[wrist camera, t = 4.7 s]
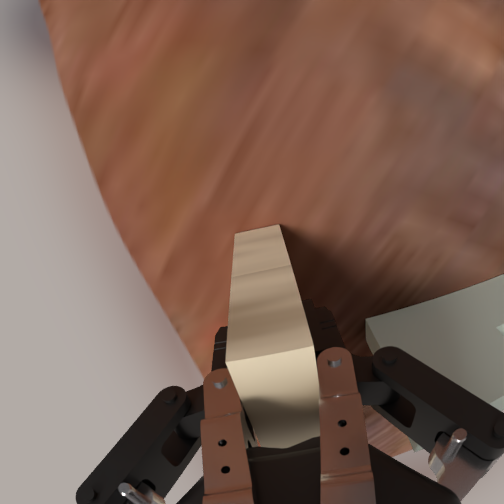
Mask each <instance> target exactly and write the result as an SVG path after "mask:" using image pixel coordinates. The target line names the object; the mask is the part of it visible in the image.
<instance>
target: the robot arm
mask: <svg viewBox="0 0 504 504" xmlns="http://www.w3.org/2000/svg"><path fill="white" fill-rule="evenodd" d="M302 305H303V308H304V312H305V315H306V319H307V323H308V326H309V330H310V334H311V337H312V341H313V345H314V351H315V358H316V366H317V373H318V381H319V419H320V436H318V437H313V438H310V439H308V440H306V441H303V442H301V443H298V444H296V445H293V446H291V447H288V448H269V447H258V444H257V439H256V434H255V431H254V429H253V427H252V425H251V422H250V420H249V418H248V415H247V413H246V411H245V408H244V406H243V404H242V401H241V399H240V397H239V394H238V392H237V389H236V387H235V385H234V382H233V380H232V377H231V375H230V372H229V370H228V368H227V365H226V363H225V360H226V346H227V331H228V326H226V327H220V329H219V331H218V332H217V334H216V335H215V344H214V352H213V361H212V370H211V373H209V374H208V375H207V376H206V377H205V379H204V382H203V385H201V386H200V387H197V388H195V389H192V390H189V391H187V392H185V390H184V389H183V388H181V387H178V386H170V387H167V388H165V389H163V390H162V391H160V392H159V393H158V395H157V396H156V397H155V398H154V399H153V401H152V402H151V403H150V404H149V405H148V407H147V408H146V409H145V410H144V411H143V413H142V414H141V415H140V416H139V417H138V419H137V420H136V421H135V422H134V423H133V425H132V426H131V427H130V428H129V429H128V431H127V432H126V433H125V434H124V435H123V437H122V438H121V439H120V440H119V441H118V442H117V444H116V445H115V446H114V447H113V448H112V450H111V451H110V452H109V453H108V454H107V455H106V457H105V458H104V459H103V460H102V461H101V462H100V464H99V465H98V466H97V467H96V468H95V470H94V471H93V472H92V473H91V474H90V475H89V476H88V478H87V479H86V480H85V481H84V482H83V483H82V485H81V486H80V487H79V488H78V490H77V492H76V502H77V504H165V501H164V498H165V496H166V495H167V493H168V492H169V491H170V490H171V488H172V486H173V485H174V484H175V483H176V481H177V480H178V478H179V477H180V475H181V474H182V473H183V471H184V470H185V468H186V467H187V465H188V464H189V463H190V461H191V460H192V458H193V457H194V455H195V454H196V452H197V451H198V449H199V448H200V446H201V445H202V460H203V477H201V478H200V480H199V481H198V482H197V483H196V484H195V485H194V486H193V487H192V488H191V489H190V490H189V491H188V492H187V493H186V494H185V495H184V496H183V497H182V498H181V499H180V500H179V501H178V502H177V503H176V504H461V502H460V501H461V500H462V499H463V498H464V497H465V496H466V495H467V493H468V492H469V491H470V490H471V489H472V487H473V486H474V485H475V484H476V483H477V481H478V480H479V479H480V478H482V477H483V476H484V475H485V474H486V473H487V472H488V471H489V470H490V468H491V467H492V466H493V465H494V464H495V463H496V462H497V460H498V459H499V458H500V457H501V456H502V454H503V453H504V413H503V412H501V411H500V410H498V409H497V408H495V407H493V406H492V405H490V404H488V403H487V402H485V401H484V400H482V399H480V398H479V397H477V396H476V395H474V394H472V393H471V392H469V391H468V390H466V389H464V388H463V387H461V386H459V385H458V384H456V383H455V382H453V381H451V380H450V379H448V378H447V377H445V376H443V375H442V374H440V373H439V372H437V371H435V370H434V369H432V368H431V367H429V366H427V365H426V364H424V363H423V362H421V361H419V360H418V359H416V358H415V357H413V356H411V355H410V354H408V353H407V352H405V351H403V350H402V349H400V348H398V347H394V346H387V347H383V348H380V349H378V350H377V351H376V352H375V353H374V355H373V357H360V356H355V355H353V354H351V353H350V352H349V351H348V350H346V348H345V346H344V343H343V341H342V338H341V336H340V333H339V330H338V328H337V326H336V323H335V321H334V318H333V315H332V313H331V311H329V310H328V309H327V308H326V307H321V308H316V309H315V308H314V305H313V302H312V299H308V300H304V301H302ZM362 405H371V406H372V408H373V409H374V410H376V411H377V412H378V413H379V414H381V415H382V416H383V417H384V418H385V419H387V420H388V421H389V422H390V423H392V424H393V425H394V426H395V427H397V428H398V429H399V430H400V431H402V432H403V433H404V434H406V435H407V436H408V437H409V438H411V439H412V440H413V441H414V442H416V443H417V444H418V445H420V446H421V447H422V448H423V449H425V450H426V451H427V452H429V453H430V456H429V459H428V463H429V467H430V469H431V470H432V471H433V472H434V473H435V475H436V477H437V482H435V481H433V480H431V479H429V478H428V477H426V476H424V475H422V474H420V473H418V472H417V471H415V470H413V469H411V468H409V467H407V466H406V465H404V464H402V463H401V462H399V461H397V460H395V459H394V458H392V457H390V456H388V455H387V454H385V453H383V452H382V451H380V450H378V449H377V448H375V447H373V446H372V445H370V444H368V440H367V433H366V426H365V420H364V413H363V407H362Z"/></svg>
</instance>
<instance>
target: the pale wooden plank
mask: <svg viewBox="0 0 504 504" xmlns="http://www.w3.org/2000/svg"><path fill="white" fill-rule="evenodd" d="M225 363H226V365H227V368H228V370H229V372H230V375H231V377H232V380H233V382H234V385H235V387H236V389H237V392H238V394H239V397H240V399H241V401H242V404H243V406H244V408H245V411H246V413H247V415H248V418H249V420H250V422H251V425H252V427H253V429H254V431H255V434H256V436H257V438H258V440H259V442H260V445H261V447H269V448H288V447H291V446H293V445H296V444H298V443H301V442H303V441H306V440H308V439H310V438H313V437H318V436H320V419H319V381H318V373H317V366H316V358H315V351H314V345H313V341H312V337H311V334H310V330H309V326H308V323H307V319H306V315H305V312H304V308H303V305H302V301H301V298H300V294H299V291H298V287H297V284H296V280H295V277H294V273H293V270H292V266H291V263H290V259H289V256H288V253H287V249H286V246H285V243H284V239H283V236H282V233H281V229H280V226H279V224H278V225H273V226H269V227H264V228H259V229H255V230H250V231H246V232H241V233H237V234H235V240H234V253H233V265H232V277H231V290H230V304H229V317H228V331H227V346H226V360H225Z"/></svg>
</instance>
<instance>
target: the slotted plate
mask: <svg viewBox="0 0 504 504" xmlns="http://www.w3.org/2000/svg"><path fill="white" fill-rule="evenodd" d="M366 341H367V344H368V346H369V348H370V350H371V352H372V354H373V355H374V353H375V352H376V351H377V350H378V349H380V348H383V347H387V346H394V347H398V348H400V349H402V350H403V351H405V352H407V353H408V354H410V355H411V356H413V357H415V358H416V359H418V360H419V361H421V362H423V363H424V364H426V365H427V366H429V367H431V368H432V369H434V370H435V371H437V372H439V373H440V374H442V375H443V376H445V377H447V378H448V379H450V380H451V381H453V382H455V383H456V384H458V385H459V386H461V387H463V388H464V389H466V390H468V391H469V392H471V393H472V394H474V395H476V396H477V397H479V398H480V399H482V400H484V401H485V402H487V403H488V404H490V405H492V406H493V407H495V408H497V409H498V410H500V411H502V410H504V274H503V275H500V276H497V277H495V278H492V279H490V280H487V281H484V282H482V283H479V284H476V285H473V286H471V287H468V288H465V289H462V290H459V291H456V292H453V293H450V294H447V295H444V296H441V297H438V298H435V299H432V300H429V301H426V302H423V303H419V304H416V305H413V306H409V307H406V308H403V309H399V310H396V311H392V312H389V313H385V314H382V315H378V316H374V317H371V318H367V319H366ZM408 438H409V437H408ZM409 440H410V443H411V445H412V448H413V450H414V452H417V451H419V450H422V449H423V448H422V447H421V446H420V445H418V444H417V443H416V442H414V441H413V440H412V439H411V438H409Z"/></svg>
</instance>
